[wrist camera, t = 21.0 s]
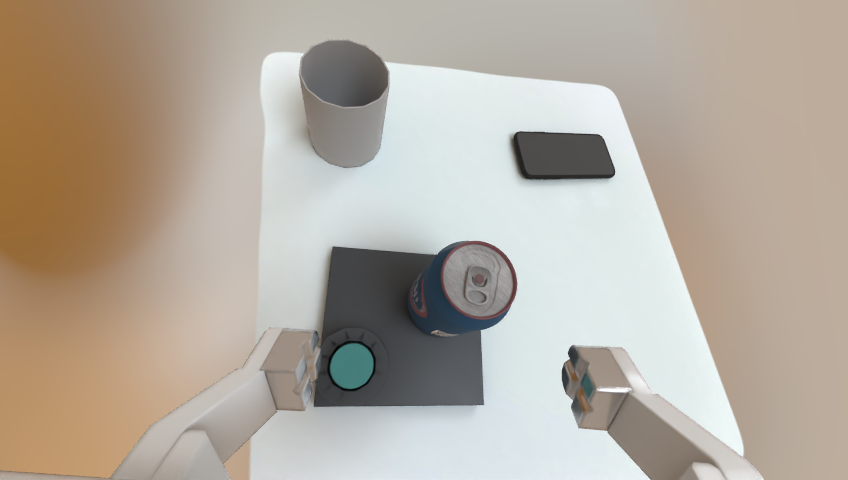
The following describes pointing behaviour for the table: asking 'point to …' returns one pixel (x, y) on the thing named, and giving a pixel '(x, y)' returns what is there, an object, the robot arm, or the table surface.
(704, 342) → the table surface
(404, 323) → the scale
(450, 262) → the soda can
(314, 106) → the cup
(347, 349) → the tare button
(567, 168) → the smartphone
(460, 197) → the table surface
